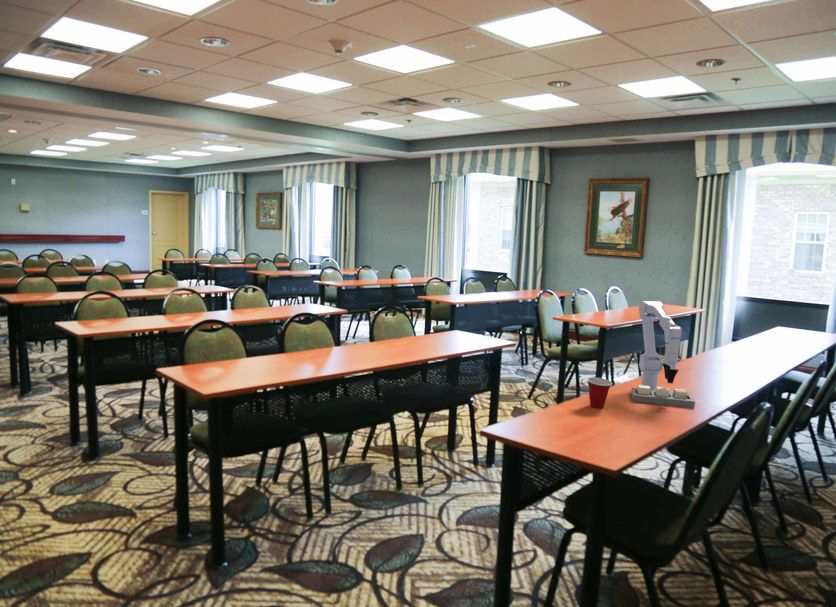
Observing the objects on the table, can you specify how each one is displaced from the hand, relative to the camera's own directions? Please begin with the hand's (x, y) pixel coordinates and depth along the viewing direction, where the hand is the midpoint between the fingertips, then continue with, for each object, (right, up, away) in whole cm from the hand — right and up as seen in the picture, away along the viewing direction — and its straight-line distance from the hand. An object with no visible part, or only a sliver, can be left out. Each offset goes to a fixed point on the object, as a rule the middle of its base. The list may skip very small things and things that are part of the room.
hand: (668, 381), depth 280 cm
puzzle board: (-3, -9, 0) cm, 10 cm away
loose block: (+4, -9, -2) cm, 10 cm away
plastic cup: (-37, -10, -13) cm, 40 cm away
